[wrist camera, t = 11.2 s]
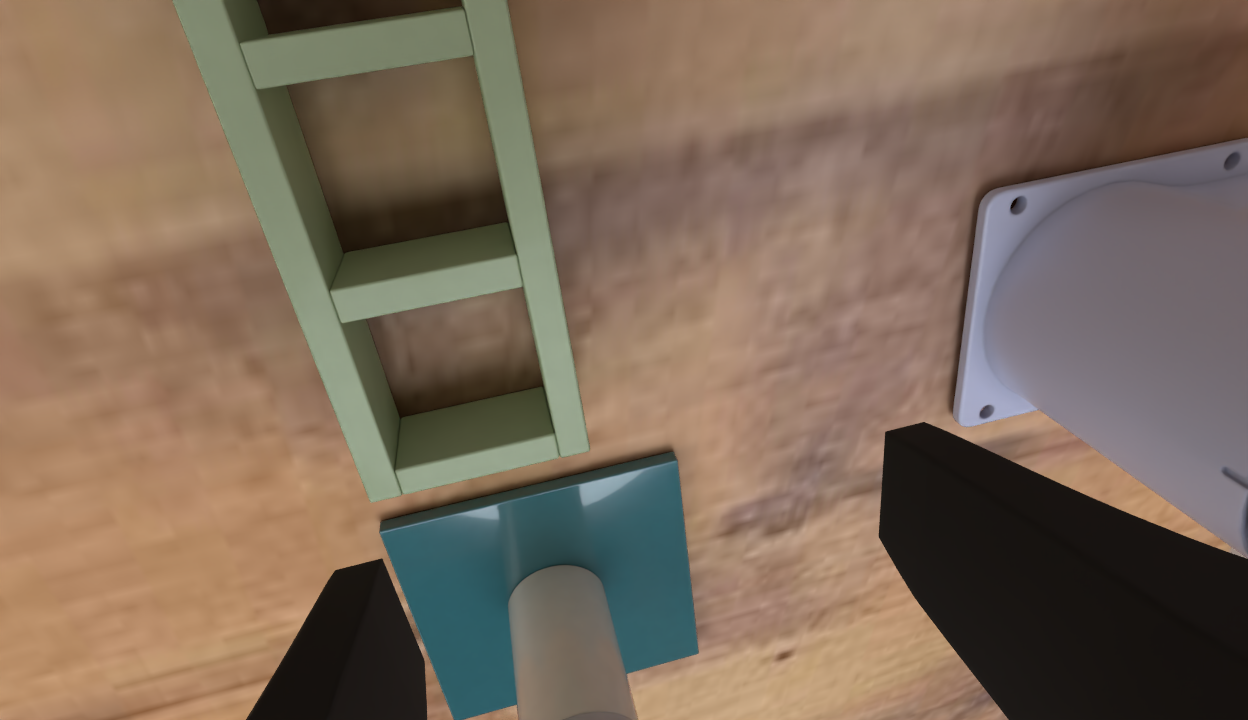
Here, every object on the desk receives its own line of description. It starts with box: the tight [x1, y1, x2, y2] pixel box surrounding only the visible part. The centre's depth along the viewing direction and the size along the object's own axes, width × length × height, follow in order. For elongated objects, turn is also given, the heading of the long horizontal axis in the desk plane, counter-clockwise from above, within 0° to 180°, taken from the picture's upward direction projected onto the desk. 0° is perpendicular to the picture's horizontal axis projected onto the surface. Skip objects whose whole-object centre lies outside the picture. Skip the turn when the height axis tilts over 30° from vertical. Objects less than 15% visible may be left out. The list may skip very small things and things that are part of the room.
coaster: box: [379, 452, 699, 720], centre depth 23 cm, size 9×9×1 cm
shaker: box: [508, 565, 638, 720], centre depth 20 cm, size 3×3×6 cm
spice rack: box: [172, 0, 590, 502], centre depth 15 cm, size 6×15×2 cm, turn 7°
